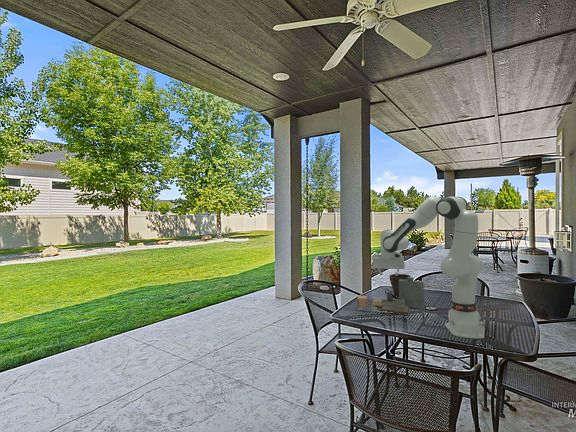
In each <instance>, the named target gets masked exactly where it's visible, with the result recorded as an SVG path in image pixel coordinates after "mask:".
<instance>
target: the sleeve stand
mask: <svg viewBox="0 0 576 432" xmlns="http://www.w3.org/2000/svg"><path fill="white" fill-rule="evenodd" d="M381 300H382V307H381V306H375V307H377V308H378V309H377V310H379V309H380V310H379V311H387V312H393V313H400V314H399V315H402V314H407V315H406V316H408V315H409V307H408V306H405V300H399V298H397V299H396V298H392V301H388V300H387V298H382V299H381ZM369 303H370V302H369ZM370 304H372V303H370ZM371 306H373V304H372V305H371ZM373 307H374V306H373Z"/></svg>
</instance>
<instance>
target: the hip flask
mask: <svg viewBox="0 0 576 432" xmlns="http://www.w3.org/2000/svg"><path fill="white" fill-rule="evenodd" d="M398 299H399V300H405V306H408V308H411V307H413V308H412V309H424V310H425V305H426V304H425V282H424V280H414V277H413V276H410V277H408V280H399V298H398Z"/></svg>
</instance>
